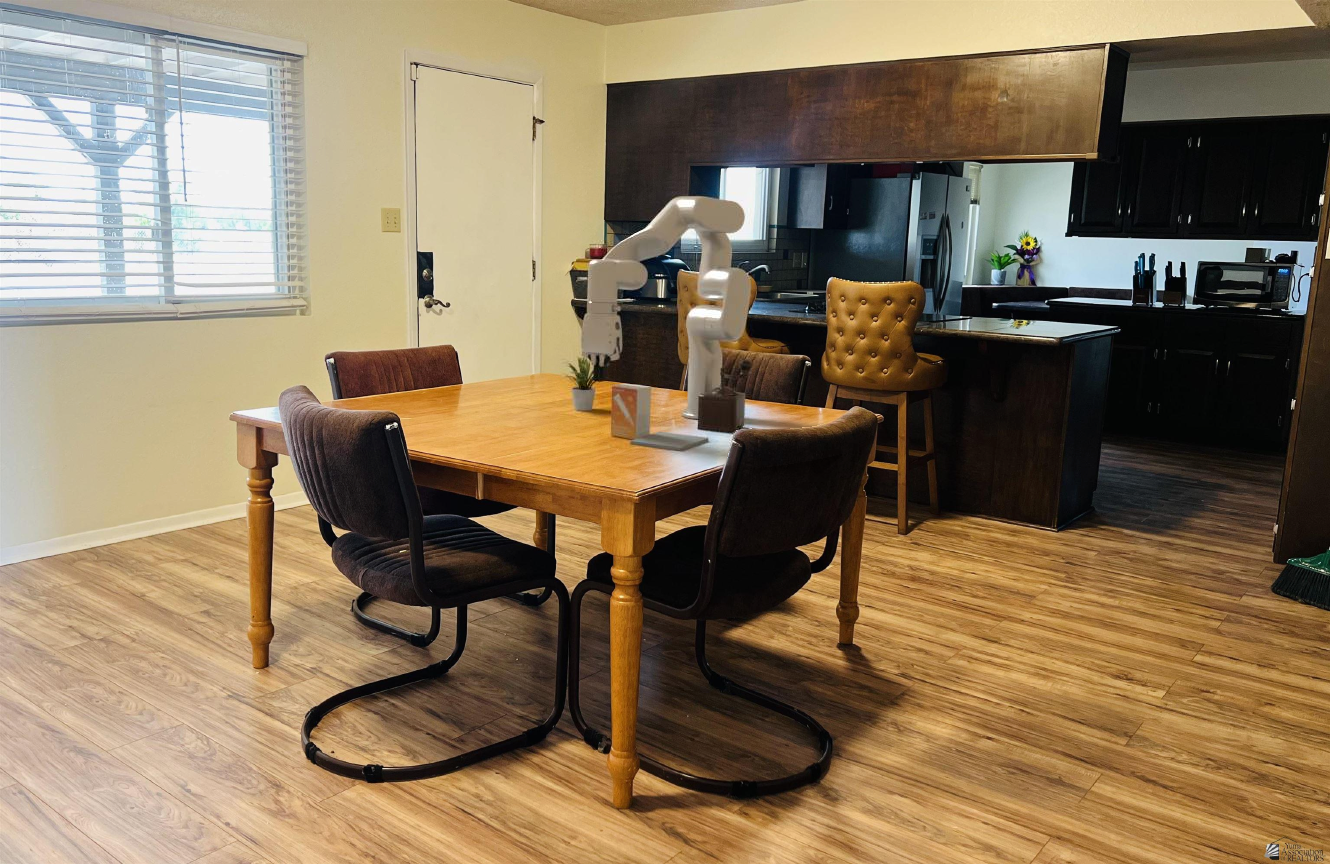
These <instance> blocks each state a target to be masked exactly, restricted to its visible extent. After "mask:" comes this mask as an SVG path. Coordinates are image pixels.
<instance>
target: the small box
mask: <svg viewBox="0 0 1330 864" xmlns="http://www.w3.org/2000/svg"><path fill="white" fill-rule="evenodd" d="M651 396H652V387H651V386H647V385H641V384H630V383H621V384H616V385H611V411H610V412H611V414H610V423H611V424H610V436H612V437H619V438H623V439H629V440H635V439H638V438H641V437H644V436H647V435H651V403H652V402H651V401H652V400H651V399H652V397H651Z"/></svg>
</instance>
